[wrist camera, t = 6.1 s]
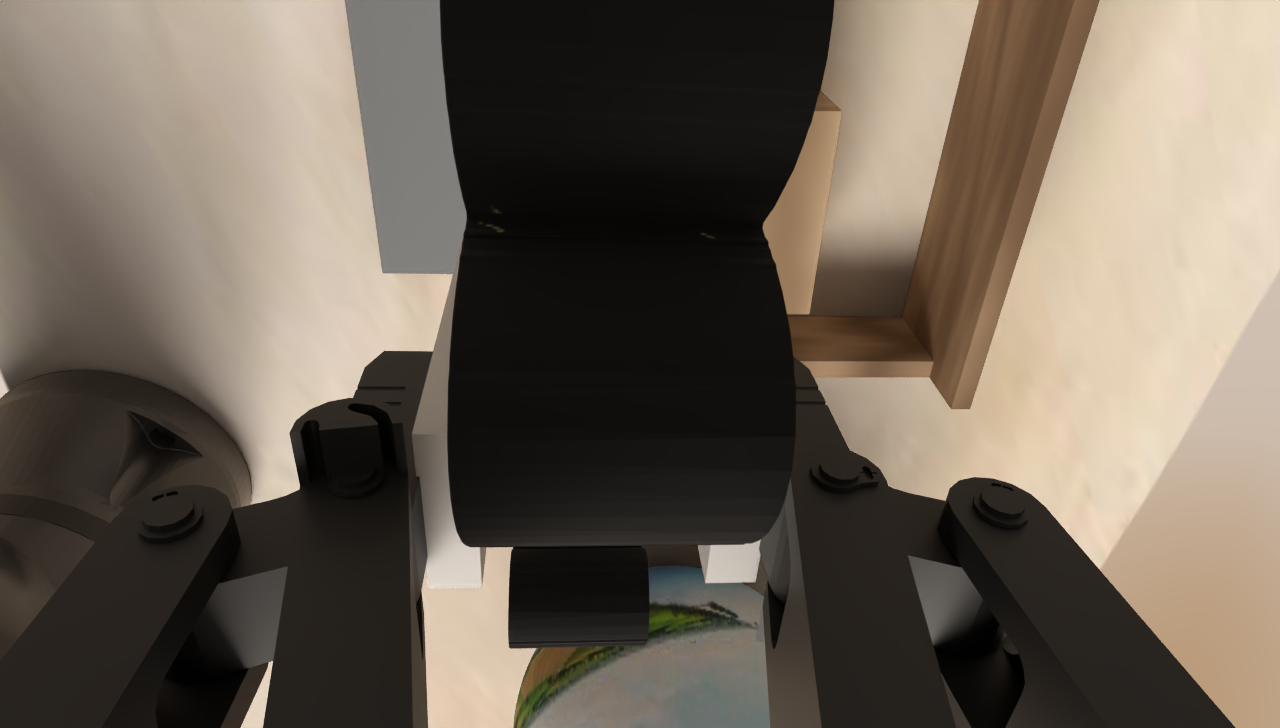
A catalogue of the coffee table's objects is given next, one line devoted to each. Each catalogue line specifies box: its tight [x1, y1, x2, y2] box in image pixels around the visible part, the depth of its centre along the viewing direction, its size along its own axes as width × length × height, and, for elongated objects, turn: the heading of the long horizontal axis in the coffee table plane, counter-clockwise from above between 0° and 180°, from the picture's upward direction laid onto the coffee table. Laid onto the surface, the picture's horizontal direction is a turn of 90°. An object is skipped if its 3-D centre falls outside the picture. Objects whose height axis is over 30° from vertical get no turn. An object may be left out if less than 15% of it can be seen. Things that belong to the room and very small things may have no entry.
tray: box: [788, 0, 1099, 409], centre depth 37 cm, size 20×27×8 cm
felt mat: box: [345, 0, 467, 274], centre depth 37 cm, size 9×26×1 cm, turn 177°
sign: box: [440, 0, 834, 648], centre depth 17 cm, size 22×3×20 cm, turn 177°
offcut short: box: [763, 91, 842, 314], centre depth 40 cm, size 4×10×6 cm, turn 178°
